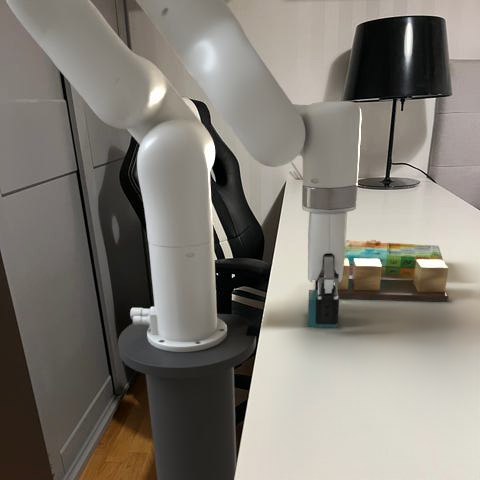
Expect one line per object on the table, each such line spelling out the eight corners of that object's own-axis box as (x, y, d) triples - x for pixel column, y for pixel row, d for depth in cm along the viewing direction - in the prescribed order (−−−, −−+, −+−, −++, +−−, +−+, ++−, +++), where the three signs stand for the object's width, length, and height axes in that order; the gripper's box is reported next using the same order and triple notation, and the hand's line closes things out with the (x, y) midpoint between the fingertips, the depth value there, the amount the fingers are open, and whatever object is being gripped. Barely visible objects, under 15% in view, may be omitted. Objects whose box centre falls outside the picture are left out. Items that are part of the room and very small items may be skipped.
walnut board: (318, 298, 87) (318, 292, 86) (317, 282, 94) (318, 277, 93) (447, 301, 84) (448, 296, 83) (437, 285, 91) (437, 280, 91)
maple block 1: (322, 289, 88) (323, 265, 86) (321, 280, 92) (323, 257, 90) (347, 289, 87) (349, 265, 85) (346, 281, 91) (347, 258, 89)
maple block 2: (353, 290, 87) (355, 265, 85) (351, 281, 91) (353, 258, 89) (379, 290, 86) (382, 266, 85) (376, 282, 90) (378, 258, 89)
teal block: (307, 326, 76) (308, 299, 74) (307, 315, 80) (308, 289, 78) (337, 327, 75) (338, 300, 73) (335, 316, 79) (337, 290, 77)
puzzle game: (338, 236, 106) (439, 241, 101) (337, 258, 108) (436, 263, 103) (333, 251, 96) (444, 257, 91) (332, 275, 98) (441, 282, 93)
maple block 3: (418, 291, 86) (421, 267, 84) (413, 283, 90) (416, 259, 88) (444, 292, 85) (448, 267, 83) (438, 283, 89) (442, 260, 87)
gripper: (303, 188, 78) (302, 290, 85) (300, 210, 62) (299, 334, 69) (352, 187, 77) (347, 291, 84) (362, 209, 61) (355, 335, 68)
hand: (325, 310), depth 77 cm, fingers open, 9 cm apart
